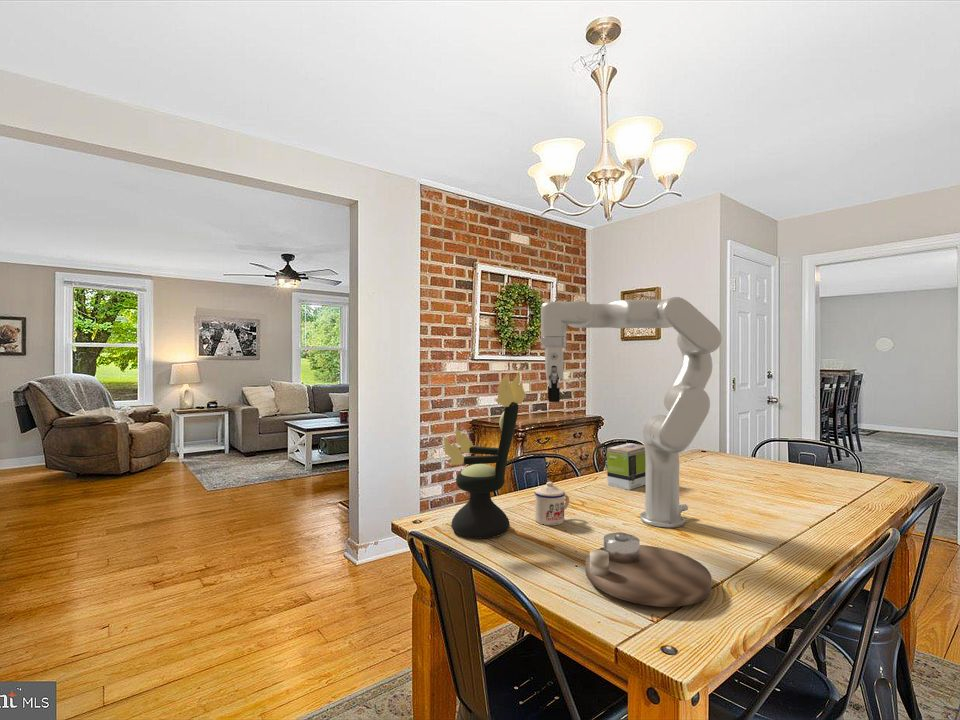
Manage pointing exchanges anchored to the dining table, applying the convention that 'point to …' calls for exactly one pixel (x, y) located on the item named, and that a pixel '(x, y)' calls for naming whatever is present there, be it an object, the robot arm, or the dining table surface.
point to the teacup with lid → (550, 504)
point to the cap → (622, 547)
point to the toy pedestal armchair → (485, 470)
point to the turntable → (651, 577)
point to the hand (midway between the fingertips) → (553, 400)
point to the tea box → (626, 466)
